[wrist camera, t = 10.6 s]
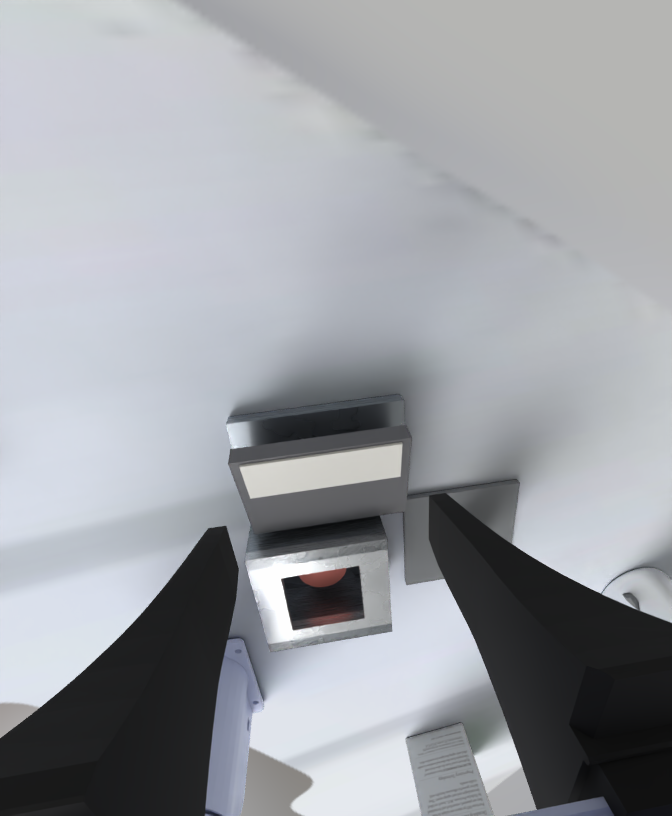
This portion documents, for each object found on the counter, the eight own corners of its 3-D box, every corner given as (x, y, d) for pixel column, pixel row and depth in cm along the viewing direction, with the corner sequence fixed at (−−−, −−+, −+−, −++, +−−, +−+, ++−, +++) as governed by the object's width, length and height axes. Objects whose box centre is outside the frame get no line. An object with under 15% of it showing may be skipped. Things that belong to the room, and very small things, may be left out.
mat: (505, 564, 28) (508, 568, 27) (405, 580, 27) (406, 585, 27) (516, 479, 24) (519, 482, 24) (402, 496, 24) (404, 500, 23)
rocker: (401, 497, 22) (406, 513, 21) (255, 520, 21) (254, 536, 20) (406, 424, 18) (412, 439, 17) (230, 449, 18) (227, 465, 17)
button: (345, 564, 26) (348, 582, 24) (301, 571, 25) (301, 590, 24) (341, 530, 24) (344, 547, 23) (294, 537, 24) (294, 555, 23)
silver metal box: (404, 575, 27) (421, 626, 23) (273, 597, 26) (270, 652, 23) (399, 393, 21) (421, 423, 17) (228, 416, 20) (214, 452, 17)
